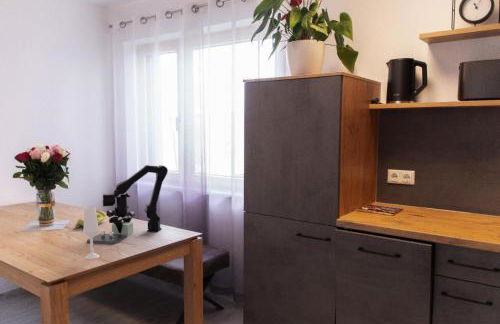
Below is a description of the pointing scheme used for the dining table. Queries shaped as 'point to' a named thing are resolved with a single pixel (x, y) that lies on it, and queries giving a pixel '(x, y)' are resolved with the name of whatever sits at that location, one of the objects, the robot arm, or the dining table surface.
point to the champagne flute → (90, 228)
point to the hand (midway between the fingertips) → (122, 231)
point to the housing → (123, 229)
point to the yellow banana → (100, 218)
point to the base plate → (107, 238)
